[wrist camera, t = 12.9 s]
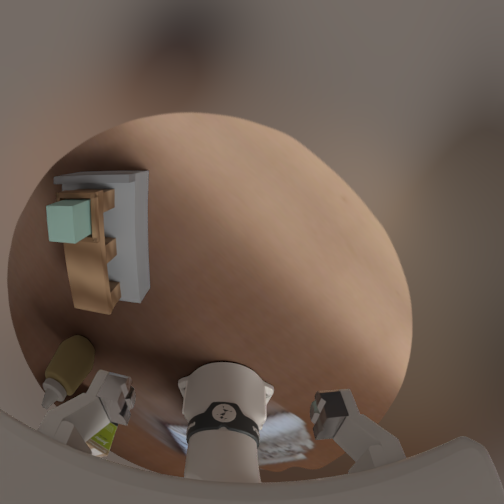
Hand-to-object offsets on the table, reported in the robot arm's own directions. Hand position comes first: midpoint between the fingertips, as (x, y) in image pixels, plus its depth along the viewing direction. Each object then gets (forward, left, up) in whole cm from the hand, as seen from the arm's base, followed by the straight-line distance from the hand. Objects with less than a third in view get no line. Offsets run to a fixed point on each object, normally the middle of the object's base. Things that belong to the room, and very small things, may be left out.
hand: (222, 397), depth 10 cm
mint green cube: (+2, +19, -20) cm, 27 cm away
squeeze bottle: (-27, +30, -29) cm, 50 cm away
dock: (-2, +19, -29) cm, 35 cm away
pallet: (-3, +19, -24) cm, 31 cm away
